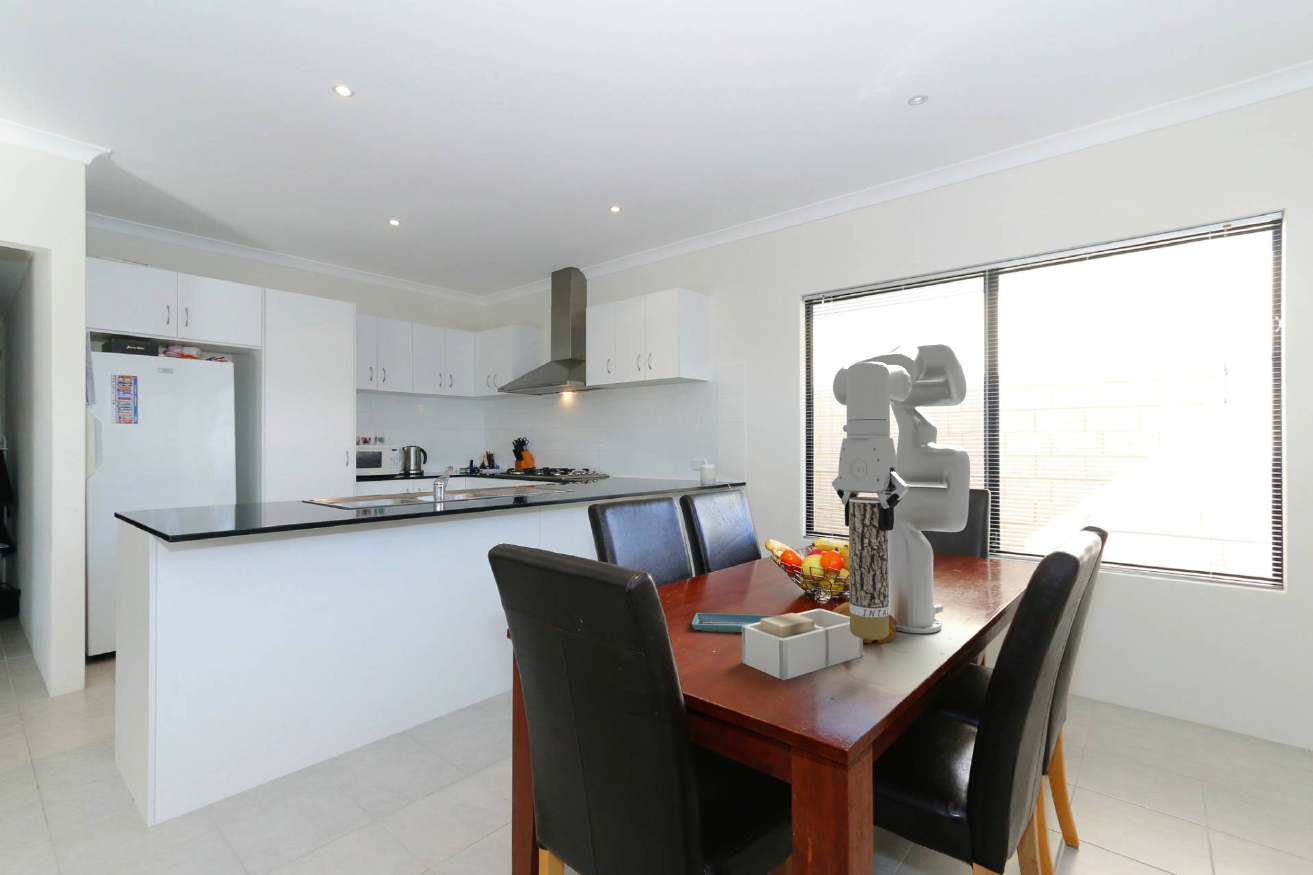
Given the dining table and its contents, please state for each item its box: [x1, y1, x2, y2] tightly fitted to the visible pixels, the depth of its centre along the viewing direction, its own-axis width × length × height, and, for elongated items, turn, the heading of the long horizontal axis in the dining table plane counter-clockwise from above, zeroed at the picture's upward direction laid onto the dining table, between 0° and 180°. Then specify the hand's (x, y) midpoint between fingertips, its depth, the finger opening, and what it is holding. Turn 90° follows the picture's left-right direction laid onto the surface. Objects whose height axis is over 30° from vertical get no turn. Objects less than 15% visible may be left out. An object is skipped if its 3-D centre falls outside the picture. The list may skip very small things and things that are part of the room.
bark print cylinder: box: [848, 496, 889, 640], centre depth 115 cm, size 7×7×25 cm
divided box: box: [741, 608, 864, 681], centre depth 122 cm, size 22×11×7 cm, turn 124°
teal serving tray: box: [691, 612, 774, 633], centre depth 143 cm, size 26×9×2 cm, turn 79°
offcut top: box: [760, 612, 814, 638], centre depth 119 cm, size 8×6×3 cm
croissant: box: [831, 600, 897, 645], centre depth 137 cm, size 14×16×8 cm
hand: (868, 527), depth 115 cm, fingers closed on bark print cylinder, 6 cm apart
